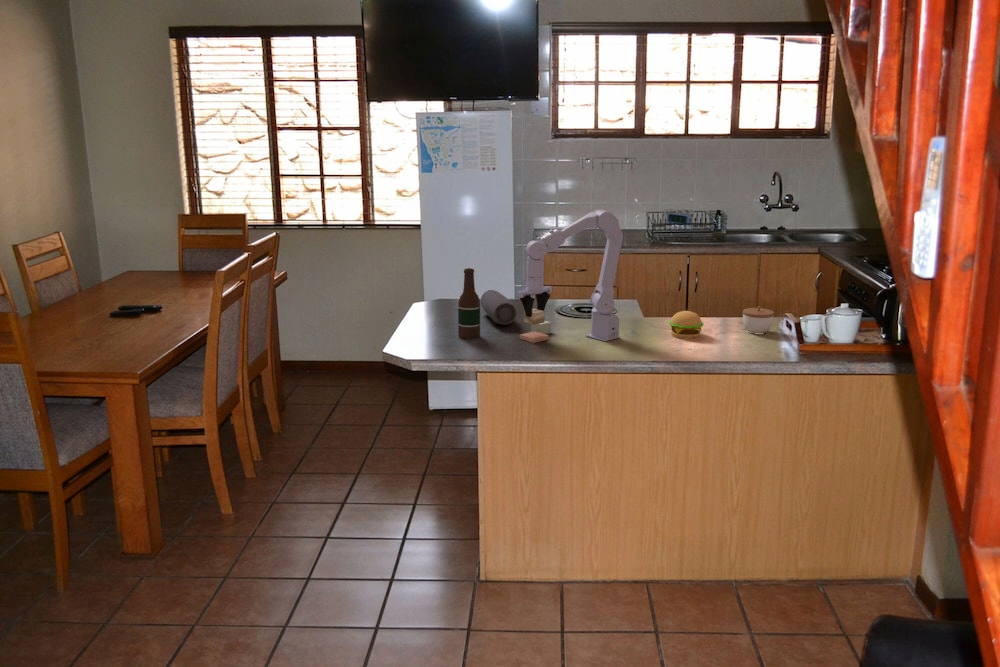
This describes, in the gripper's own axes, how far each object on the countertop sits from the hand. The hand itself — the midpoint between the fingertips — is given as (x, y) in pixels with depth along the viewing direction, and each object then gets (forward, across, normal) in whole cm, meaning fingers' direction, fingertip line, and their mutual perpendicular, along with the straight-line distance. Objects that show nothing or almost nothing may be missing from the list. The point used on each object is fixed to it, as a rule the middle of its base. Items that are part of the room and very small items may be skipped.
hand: (534, 315), depth 306 cm
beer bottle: (+9, +15, -17) cm, 24 cm away
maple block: (+2, 0, 0) cm, 3 cm away
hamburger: (+9, -44, +31) cm, 55 cm away
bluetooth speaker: (+9, -8, -28) cm, 30 cm away
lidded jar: (+8, -67, +45) cm, 81 cm away
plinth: (+8, 0, 0) cm, 8 cm away
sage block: (+9, -8, -5) cm, 13 cm away
